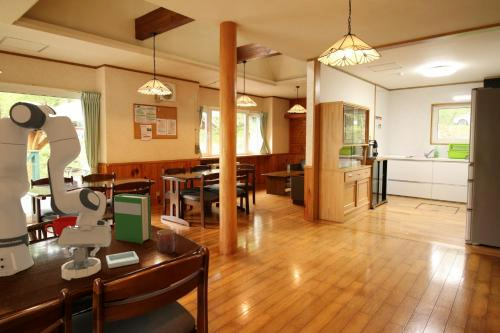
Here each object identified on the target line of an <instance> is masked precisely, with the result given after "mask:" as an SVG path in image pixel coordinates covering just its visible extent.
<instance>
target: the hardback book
mask: <svg viewBox="0 0 500 333" xmlns="http://www.w3.org/2000/svg"><path fill="white" fill-rule="evenodd" d="M113 201H114V202H113V205H114V227H115V228H114V232H115V241H116V240H117V241H122V242H124V241H125V242H130V243H135V242H136V244H143V243H144V242H145V241H146V240H148V239H150V240H152V232H151V231H152V226H151V196H150V195H143V194H142V195H141V194H132V193H131V194H130V193H121V194H117V195H114V196H113Z"/></svg>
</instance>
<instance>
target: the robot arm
mask: <svg viewBox="0 0 500 333" xmlns="http://www.w3.org/2000/svg"><path fill="white" fill-rule="evenodd" d="M8 113H9V114H8V116H7V115H6V116H3V117H1V118H0V277H7V276H13V275H15V274H16V273H19V272H21V271H24V270H27V269H29V268H30V267H33V265H34V263H35V262H34V260H33V258H32V255H31V251H30V235H29V232H28V221H27V214H26V213H25V211H24V208H23V204H22V201H21V200H22V198H23V197H26V195H27V194H28V192H29V191H30V189H31V183H30V181H29V174H28V162H27V160H28V144H29V134H30V133H31V132H32V131H33V132H37V131H43V132H44V133H45V134H46V137H47V141H48V144H49V150H50V153H49V158H47V161H46V162H47V163H46V167H47V177H48V184H49V191H50V192H49V193H50V204H49V205H50V209H51V211H52V212H53V213H54V214H56V215H57V216H59V217H67V216H68V215H69V216H70V215H72V214H76V213H79V212H81V213H82V216H81V217H80V220H79V223H78V226H72V227H71V226H68V227H66V228H67V229H66V228H64V229H63V231H62V234H61V236H60V237H59V238H58V240H57V244H58V246H59V247H60V248H65V250H66V253H65V257H66V258H71V257H72V255H73V253H72V251H70V250H72V248H79V247H87V248H94V249H92V250H90V252H89V257H96V253H97V252H98V251H100V249H101V248H104V247H105V248H106V247H109V246H110V245H111V242H112V233H111V231H112V228H111V225H110V223H109V222H108V221H105V220H103V216H104V215H105V212H106V207H107V196H106V195H105V194H104V193H103V192H101V191H96V190H92V189H91V188H88V187H84V188H83V187H82V188H77V189H74V190H70V191H67V190H66V185H65V184H66V183H65V177H64V172H65V170H66V168H67V167H68V166H69V165H70V164H72V162H74V161H75V160H77V158H78V157H79V156H80V154H81V151H82V147H81V143H80V138H79V136H78V135H79V134H78V132H77V130H76V128H75V126H74V123H73V121H72V119H71V117H69V116H68V115H65V114H57V112H56V111H55V109H54V108H52V107H51V106H49V105H46V104H44V103H40V102H37V101H36V102H35V101H34V102H33V101H29V100H21V101H18V102H15V103H14V104H12V105H11V106H10V109H9V111H8Z"/></svg>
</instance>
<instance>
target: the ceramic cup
mask: <svg viewBox="0 0 500 333" xmlns="http://www.w3.org/2000/svg"><path fill="white" fill-rule="evenodd" d="M77 218H78V216H61V217H57V218H54V219H53V220H52V224H51V223H49V224H46V225H45V226H44V230H45V232H46V233H49V234H54V235H57V236H58V237H59V238H60V236H61V234H62V231H63V229H64V228H66V227H68V226H71V227H72V226H76V221H77ZM49 226H51V227H52V228H53V230H54V231H49V230H48V228H47V227H49ZM66 229H67V228H66Z"/></svg>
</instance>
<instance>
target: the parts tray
mask: <svg viewBox="0 0 500 333" xmlns="http://www.w3.org/2000/svg"><path fill="white" fill-rule="evenodd" d="M105 260H106V263H107V266H108V269H113V268H117V267H123V266H128V265H134V264H138V263H140V259H139V256H138V255H137V253H136V252H135V251H134V250H133V251H132V250H131V251H126V252H119V253H114V254H109V255H108V254H107V255H105Z"/></svg>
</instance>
